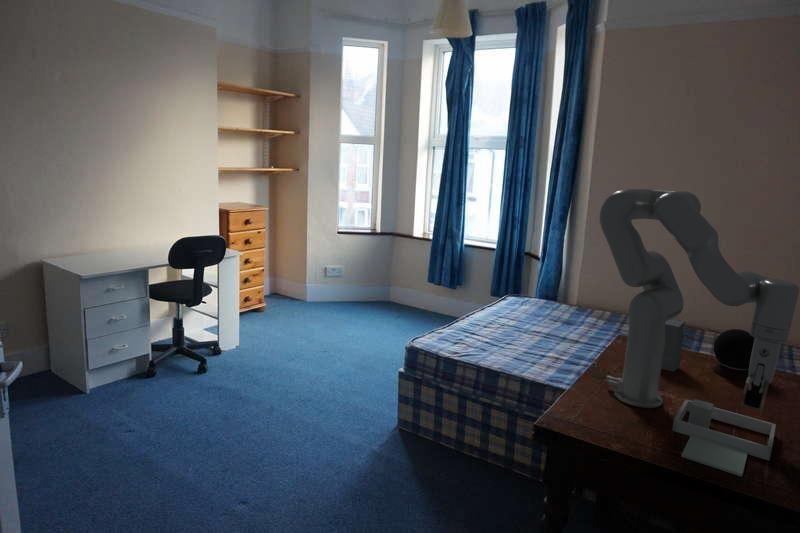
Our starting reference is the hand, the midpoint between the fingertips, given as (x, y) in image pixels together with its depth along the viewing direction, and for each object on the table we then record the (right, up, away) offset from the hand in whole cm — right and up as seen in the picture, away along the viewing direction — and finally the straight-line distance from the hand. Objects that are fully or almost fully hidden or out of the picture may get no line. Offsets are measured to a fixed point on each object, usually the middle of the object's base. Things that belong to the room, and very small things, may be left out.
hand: (752, 401), depth 133 cm
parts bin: (-4, -9, +5) cm, 11 cm away
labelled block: (0, -1, 0) cm, 1 cm away
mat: (-13, -11, -6) cm, 18 cm away
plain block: (-9, -8, +8) cm, 14 cm away
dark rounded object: (+22, -2, +44) cm, 50 cm away
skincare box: (+1, 0, +47) cm, 48 cm away
